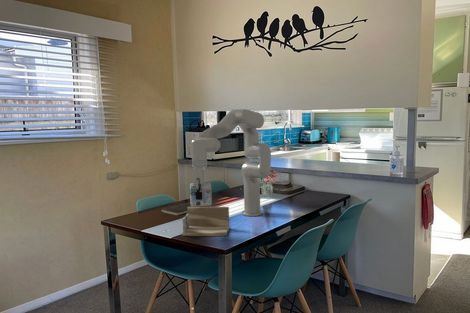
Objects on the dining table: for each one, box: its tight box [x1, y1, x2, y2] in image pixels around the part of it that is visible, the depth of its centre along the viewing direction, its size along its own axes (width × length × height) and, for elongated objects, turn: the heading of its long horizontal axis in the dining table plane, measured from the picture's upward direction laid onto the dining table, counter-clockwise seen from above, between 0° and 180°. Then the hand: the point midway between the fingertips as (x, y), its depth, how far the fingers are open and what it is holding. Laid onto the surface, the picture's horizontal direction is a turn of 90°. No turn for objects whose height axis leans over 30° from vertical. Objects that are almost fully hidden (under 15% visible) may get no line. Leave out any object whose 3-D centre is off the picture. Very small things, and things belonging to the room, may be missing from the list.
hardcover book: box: [160, 201, 205, 216], centre depth 261 cm, size 16×23×2 cm
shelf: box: [181, 206, 230, 237], centre depth 212 cm, size 14×22×12 cm, turn 83°
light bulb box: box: [189, 181, 213, 207], centre depth 209 cm, size 11×7×11 cm, turn 100°
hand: (200, 197), depth 210 cm, fingers closed on light bulb box, 8 cm apart
